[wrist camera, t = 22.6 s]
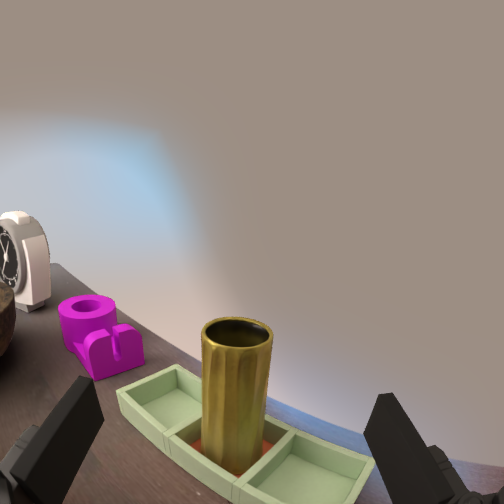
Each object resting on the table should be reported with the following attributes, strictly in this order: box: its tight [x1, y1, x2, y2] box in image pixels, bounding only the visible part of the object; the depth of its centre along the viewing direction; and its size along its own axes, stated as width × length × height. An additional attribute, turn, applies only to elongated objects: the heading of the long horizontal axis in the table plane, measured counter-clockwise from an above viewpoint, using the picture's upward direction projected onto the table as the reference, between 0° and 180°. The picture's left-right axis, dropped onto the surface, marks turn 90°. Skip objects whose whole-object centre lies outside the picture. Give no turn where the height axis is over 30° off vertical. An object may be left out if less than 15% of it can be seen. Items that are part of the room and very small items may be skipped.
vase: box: [200, 317, 273, 475], centre depth 23 cm, size 6×6×14 cm
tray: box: [116, 364, 376, 504], centre depth 24 cm, size 26×9×4 cm, turn 53°
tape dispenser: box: [58, 295, 145, 381], centre depth 40 cm, size 16×10×6 cm, turn 50°
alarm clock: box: [0, 211, 51, 313], centre depth 48 cm, size 18×8×20 cm, turn 80°
